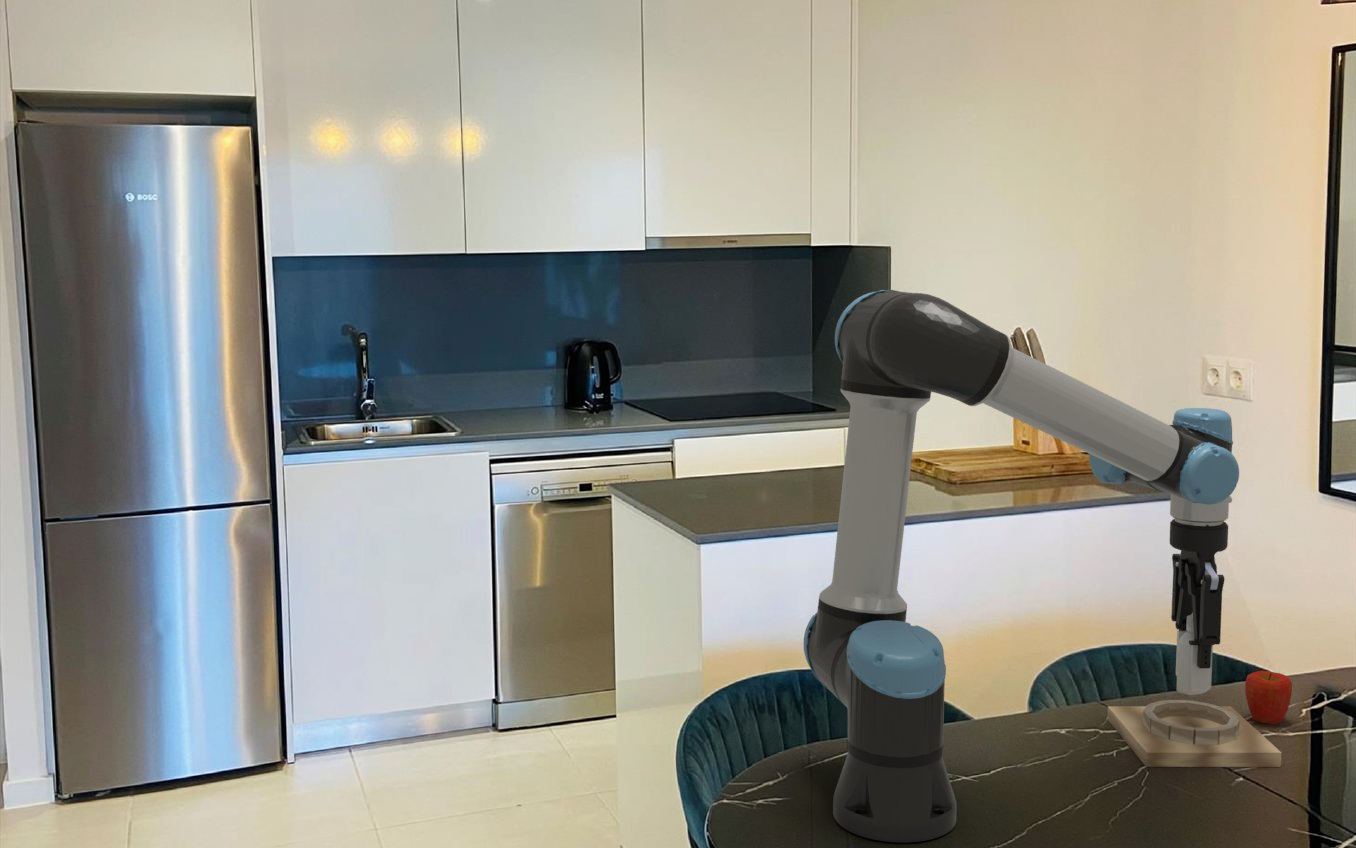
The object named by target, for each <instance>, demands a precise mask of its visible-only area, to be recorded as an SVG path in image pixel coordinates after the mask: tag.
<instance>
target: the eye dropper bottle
mask: <svg viewBox="0 0 1356 848" xmlns="http://www.w3.org/2000/svg"><path fill="white" fill-rule="evenodd" d="M1186 630H1187V632H1185V633H1184V634H1183V635H1182V636H1181V638H1180V640H1179V644H1178V663H1177V676H1176V692H1178V693H1180V694H1184V695H1187V696H1197V695H1201V694H1204V693H1205V694H1206V693H1207V691H1209V690H1191V689H1190V688H1189V687H1190V660H1191V645H1190V644H1189V641H1194V626H1193V612H1192V614H1191V615H1189V616H1187V625H1186Z"/></svg>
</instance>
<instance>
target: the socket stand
mask: <svg viewBox="0 0 1356 848" xmlns="http://www.w3.org/2000/svg"><path fill="white" fill-rule="evenodd" d="M1106 719H1107V721H1108V722H1109V724H1110V725H1111V726H1112V727H1113V728H1114V729H1115V731H1117V733H1118V734H1119V736H1120V737H1121V738H1122V739H1123V740H1124V742H1125V743H1126V744H1127V745H1128V747H1129V748H1130V749H1131V751H1133V752H1134V754H1135V755H1136V757H1138V759H1139V760H1140V761H1141V762H1142V764H1143V765H1144V766H1145V767H1147V768H1148V767H1149V768H1153V767H1154V768H1156V767H1157V768H1158V767H1159V768H1160V767H1162V768H1165V767H1166V768H1167V767H1169V768H1170V767H1171V768H1174V767H1176V768H1177V767H1178V768H1179V767H1180V768H1181V767H1183V768H1185V767H1186V768H1187V767H1188V768H1193V767H1194V768H1199V767H1201V768H1205V767H1206V768H1209V767H1210V768H1215V767H1216V768H1269V767H1270V768H1281V767H1282V753H1283V752H1282V751H1280V749H1278V748H1277V747H1276V746H1275V745H1274V744H1273V743H1272V742H1271V741H1270V740H1269V739H1267V738H1266V737H1265V736H1264V735H1263V734H1262V733H1261V732H1260V731H1258V730H1257V729H1256V728H1255V727H1254V726H1253V725H1252V724H1250V723H1249V722H1248V721H1247V720H1246V718H1244V717H1243V716H1242V715H1241V714H1240V713H1238V711H1236V710H1235V709H1234V708H1233V707H1232V706H1226V705H1224V706H1221V705H1220V706H1219V705H1216V704H1213V703H1212V704H1211V703H1208V702H1205V701H1204V702H1203V701H1202V702H1201V701H1198V700H1197V701H1196V700H1190V699H1189V700H1187V699H1165V700H1164V699H1162V700H1157V701H1154V702H1151V703H1148V704H1147V705H1146V706H1143V705H1142V706H1141V705H1140V706H1138V705H1137V706H1136V705H1135V706H1132V705H1130V706H1129V705H1127V706H1124V705H1123V706H1122V705H1120V706H1118V705H1115V706H1113V705H1112V706H1109V705H1108V706H1107V718H1106Z"/></svg>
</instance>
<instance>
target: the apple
mask: <svg viewBox="0 0 1356 848" xmlns="http://www.w3.org/2000/svg"><path fill="white" fill-rule="evenodd" d="M1244 686H1245V690H1244V693H1245V698H1246V702H1247V706H1248V710H1249V713H1250V716H1251V718H1252V720H1254V721H1256V722H1259V723H1262V724H1263V723H1264V724H1273V725H1275V724H1276V725H1277V724H1279V723H1280V722H1282V721H1283V720H1284V718H1285V717H1286V715H1287V712H1288V710H1289V707H1290V704H1291V703H1290V702H1291V697H1292V691H1293V683H1292V680H1291V679H1290V678H1289V677H1288V676H1287V675H1285V674H1283V673H1280V672H1273V671H1267V670H1258V671H1254V672H1252V673H1250V674H1247V676H1246V679H1245V685H1244Z"/></svg>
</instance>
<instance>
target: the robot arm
mask: <svg viewBox="0 0 1356 848" xmlns="http://www.w3.org/2000/svg"><path fill="white" fill-rule="evenodd" d="M834 345H835V346H834V347H835V350H836V353H837V355H838V358H839V360H840V362H841V364H842V371H841V381H840V382H841V383H840V392H841V394H842V395H843V396H844V398H845V399H846V401H848V403H849V406H850V408H849V409H850V410H849V418H848V428H847V436H846V448H845V456H844V464H843V465H844V466H843V475H842V486H841V493H840V494H841V495H840V503H839V513H838V524H837V533H836V542H835V551H834V562H833V569H832V579H831V580H832V582H831V583H830V584H829V585H828V586H827V587H825V588H824V589H823V590H821V592H820V593H819V596H818V602H817V603H818V604H817V605H818V606H817V612H816V613H815V614H814V615H812V616H811V617H810V619H809V621H808V623H807V626H806V627H805V631H804V635H803V653H804V657H805V660H806V663H807V664H808V667H809V668H810V671H811V672H812V674H813V675H814V677H815V679H816V680H817V681H818V682H820V683H821V685H822V686H823V687H824V688H825V689H826V690H827V691H829V692H830V693H832V694H833V695H834V697H836V698H837V699H838V700H839V702H841V703H842V705H843V706H844V707H846V708H847V755H846V757H845V761H844V764H843V767H842V770H841V773H840V776H839V777H838V781H837V784H836V787H835V791H834V792H833V793H834V794H833V797H832V798H833V799H832V801H833V802H832V805H833V806H832V810H833V811H832V814H833V815H832V816H833V818H834V820H835V822H836V823H837V824H839V826H841V828H843V829H845V830H846V831H848V832H850V833H853V834H854V835H857V836H860V837H863V838H866V839H869V840H875V841H879V842H886V843H918V842H924V841H925V842H926V841H930V840H934V839H938V838H940V837H943V836H944V835H947V834H948V833H949V832H951V831H952V830H953V829H954V827H955V826H956V824H957V810H958V809H957V799H956V796H955V793H954V790H953V787H952V784H951V780H950V777H949V774H948V771H947V768H946V764H945V762H944V720H945V719H944V718H945V685H946V684H945V682H946V673H947V665H946V663H945V651H944V647H943V645H942V641H941V640H940V639H939V637H937V636H936V635H935V634H934V633H933V632H932V631H930V630H928V629H927V628H925V627H922V626H919V625H911V623H910V622H906V621H907V611H908V603H907V602H906V601H905V600H904V598H903V597H902V595H900V593H899V591H898V584H899V577H900V569H901V568H900V567H901V559H902V551H903V550H902V548H903V541H904V540H903V539H904V533H905V521H906V513H907V504H908V495H909V486H910V478H911V477H910V476H911V468H912V460H913V459H912V458H913V448H914V443H915V442H914V441H915V432H916V425H917V424H916V421H917V415H918V411H919V410H920V409H921V408H922V407H924V406H925V405H926V404H927V403H928V402H930V400H931V396H932V393H935V394H938V395H942V396H944V397H948V398H951V399H954V400H956V401H959V402H961V403H962V404H965V405H967V406H969V407H976V406H979V405H982V404H984V405H987V406H988V407H991V409H994V410H996V411H998V412H1000V413H1003V414H1005V415H1007V416H1009V417H1011V418H1013V419H1015V420H1017V421H1020V422H1022V423H1024V424H1027V425H1029V426H1030V427H1033V428H1035V429H1036V430H1039V431H1041V432H1043V433H1045V434H1047V435H1049V436H1051V437H1053V438H1055V439H1057V440H1059V441H1062V442H1064V443H1066V444H1068V445H1071V446H1072V447H1074V448H1076V449H1079V450H1081V451H1083V452H1085V453H1086V454H1089V455H1088V458H1089V464H1090V465H1089V466H1090V468H1091V470H1092V473H1093V476H1095V478H1096V479H1097V480H1098V481H1099V482H1100V483H1102V484H1112V485H1113V484H1116V485H1118V486H1119V485H1123V484H1137V485H1139V486H1142V487H1145V488H1149V489H1151V490H1155V491H1159V492H1163V493H1167V494H1169V495H1170V502H1169V503H1170V507H1169V515H1170V516H1171V517H1172V520H1171V521H1170V522H1169V545H1170V546H1171V547H1172V548H1174V549H1176V550H1177V551H1178V550H1179V551H1180V553H1172V556H1171V560H1172V593H1171V596H1172V597H1171V614H1170V618H1171V621H1172V622H1175V623H1174V624H1175V629H1176V631H1177V632H1176V657H1175V659H1176V660H1175V676H1176V677H1177V663H1178V644H1179V640H1180V638H1181V636H1182V635H1183V634H1184V633H1185V632H1187V630H1186V625H1187V616H1189V615H1191V614H1192V612H1193V626H1194V641H1189V644H1190V645H1191V660H1190V687H1189V688H1190V689H1191V690H1208V691H1209V690H1210V691H1211V690H1212V677H1213V675H1212V673H1213V652H1214V650H1213V648H1214V645H1220V644H1221V631H1222V630H1221V628H1222V606H1223V604H1222V603H1223V601H1222V600H1223V590H1224V584H1225V576H1224V574H1218V568H1217V563H1216V558H1215V555H1217V553H1218V552H1220V553H1221V552H1224V551H1225V550H1227V548H1228V545H1229V543H1228V539H1229V525H1228V524H1227V522H1226V521H1227V520H1228V519H1229V508H1230V504H1231V503H1233V498H1232V496H1231V495H1232V494H1233V493H1234V491H1235V489H1236V488H1237V484H1238V482H1239V480H1240V479H1239V478H1240V468H1239V463H1238V461H1237V458H1236V457H1235V455H1234V454H1233V453H1232V452H1233V444H1234V441H1233V424H1232V422H1233V421H1232V417H1231V415H1230V413H1228V412H1227V411H1225V410H1222V409H1216V408H1208V407H1207V408H1205V407H1188V408H1185V407H1184V408H1180V409H1177V410H1176V411H1175V413H1174V414H1173V420H1172V424H1168V423H1165V422H1163V421H1161V420H1160V419H1157V418H1155V417H1153V416H1151V415H1149V414H1147V413H1145V412H1143V411H1141V410H1139V409H1137V408H1134V407H1133V406H1131V405H1129V404H1127V403H1125V402H1123V401H1121V400H1119V399H1117V398H1114V397H1113V396H1112V395H1109V394H1107V393H1104V392H1103V391H1101V390H1098V389H1097V388H1095V387H1092V386H1091V385H1089V384H1087V383H1085V382H1083V381H1081V380H1078V379H1077V378H1074V377H1072V376H1070V375H1068V374H1067V373H1064V372H1062V371H1061V370H1058V369H1056V368H1055V367H1052V366H1050V365H1048V364H1047V363H1045V362H1042V361H1040V360H1038V359H1036V358H1034V357H1032V356H1030V355H1028V354H1026V353H1024V352H1022V351H1020V350H1018V349H1016V348H1014V347H1013V346H1012V342H1011V339H1010V337H1009V336H1008V335H1007V334H1005V333H1003V332H1001V331H999V330H997V329H995V328H993V327H992V326H990V325H988V324H986V323H984V322H983V321H981V320H980V319H977V318H976V317H974V316H972V315H970V314H969V313H967V312H966V311H963V310H961V308H958V307H957V306H955V305H954V304H951V303H950V302H948V301H946V300H945V299H942V298H940V297H939V296H938V297H937V296H936V295H935V296H934V295H931V294H928V293H922V292H920V293H919V292H909V291H908V292H906V291H899V290H895V289H881V290H878V291H872V292H869V293H866V294H862V295H861V296H859V297H857V298H856V299H854V300H853V301H852V302H850V304H848V306H847V307H845V309H844V310H843V312H842V313H841V315H840V317H839V319H838V320H837V323H836V327H835V330H834Z"/></svg>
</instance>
